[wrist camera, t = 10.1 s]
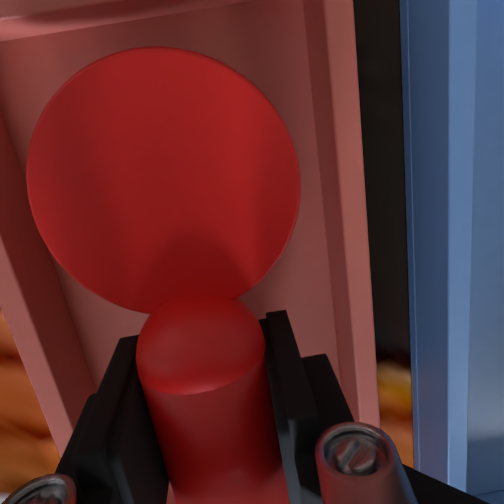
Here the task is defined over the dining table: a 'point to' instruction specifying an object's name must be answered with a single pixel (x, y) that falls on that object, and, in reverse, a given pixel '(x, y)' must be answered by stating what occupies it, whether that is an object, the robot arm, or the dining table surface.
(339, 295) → the rose tray
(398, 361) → the dining table surface
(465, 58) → the blue tray
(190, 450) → the red spoon
